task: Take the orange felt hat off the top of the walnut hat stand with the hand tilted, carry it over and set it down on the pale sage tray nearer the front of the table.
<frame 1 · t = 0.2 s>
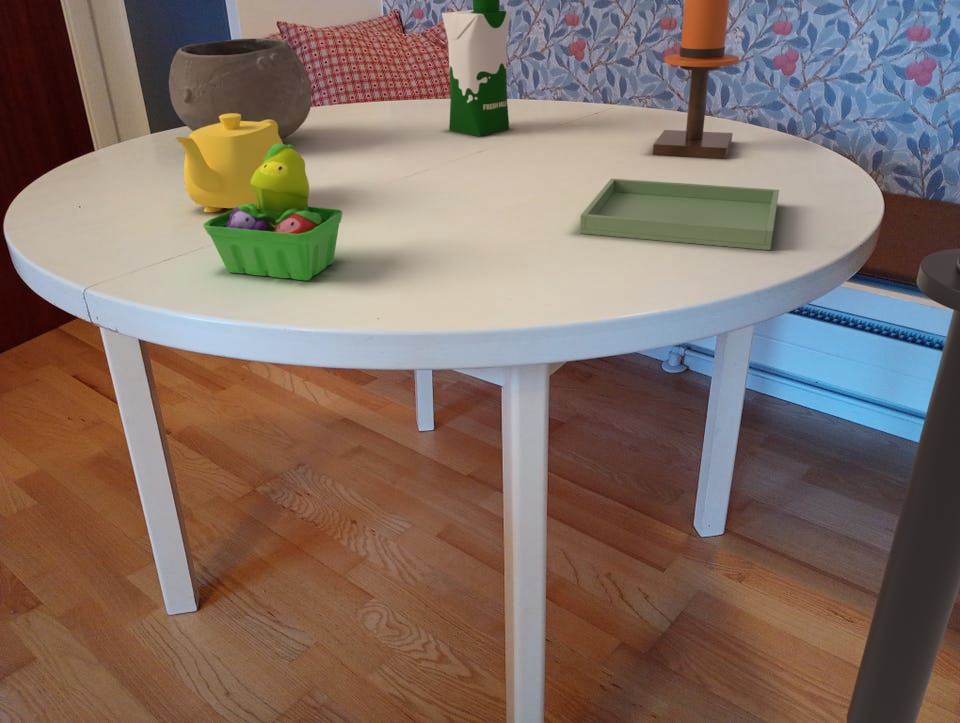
teapot: (241, 208, 99), on the table
hat stand: (692, 148, 119), on the table
milk carton: (479, 131, 135), on the table
hat: (701, 61, 114), point 12 cm above the table, touching hat stand
tray: (681, 219, 90), on the table
fruit basket: (284, 267, 80), on the table
clay pot: (250, 145, 130), on the table
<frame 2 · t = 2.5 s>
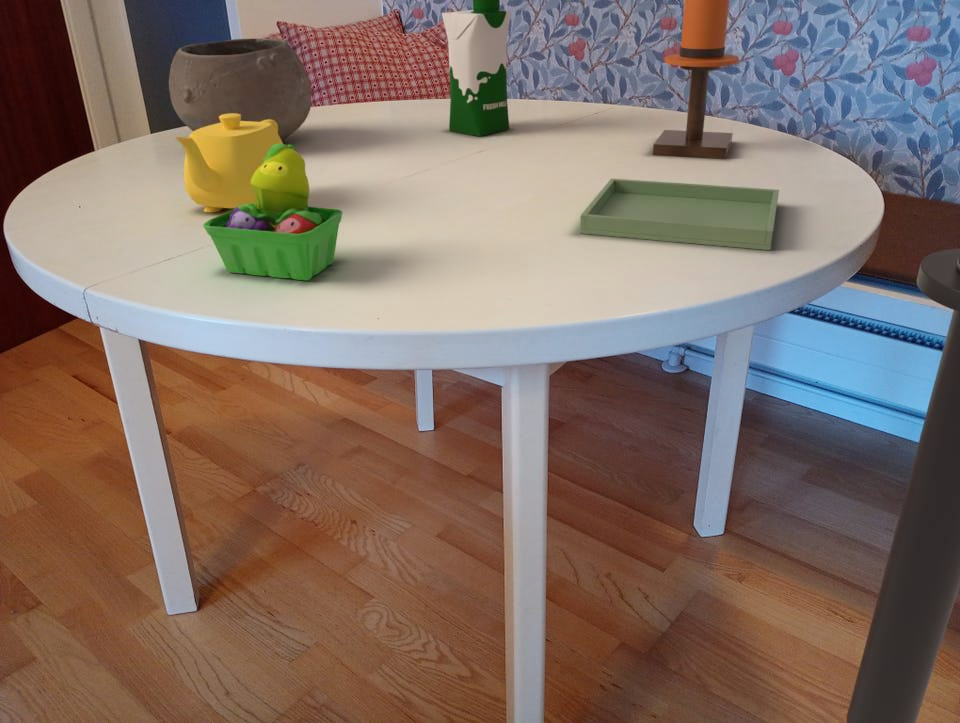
nothing on the table moved.
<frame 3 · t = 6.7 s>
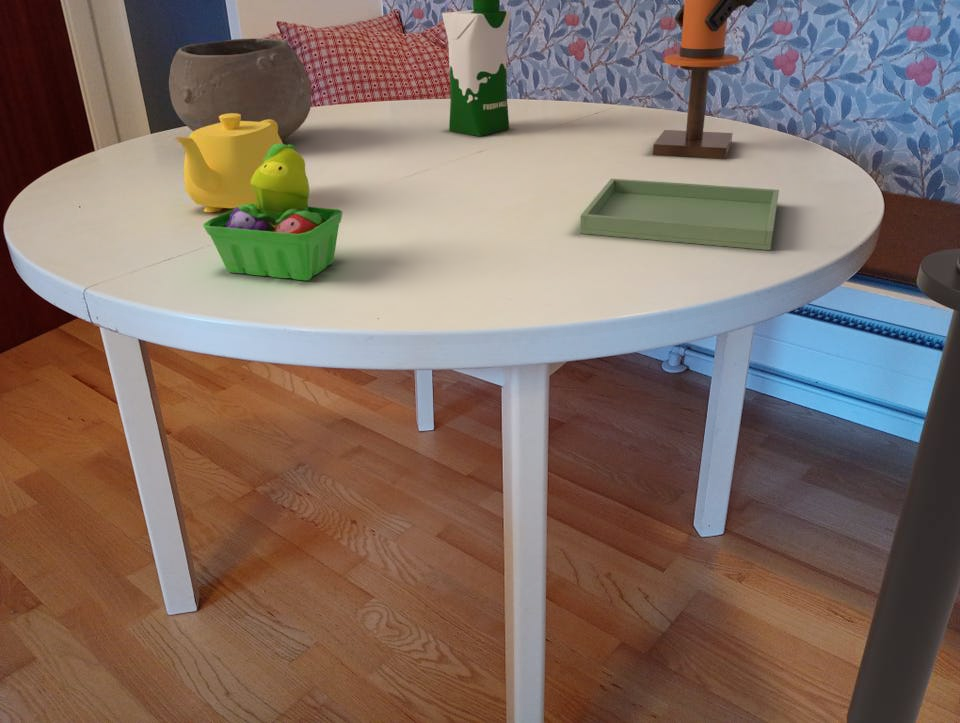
hand: (694, 24, 111), 17 cm above the table, tool tilted 45°, fingers closed on hat, 5 cm apart
hat: (701, 61, 114), point 12 cm above the table, touching gripper, hat stand
everything else where it was.
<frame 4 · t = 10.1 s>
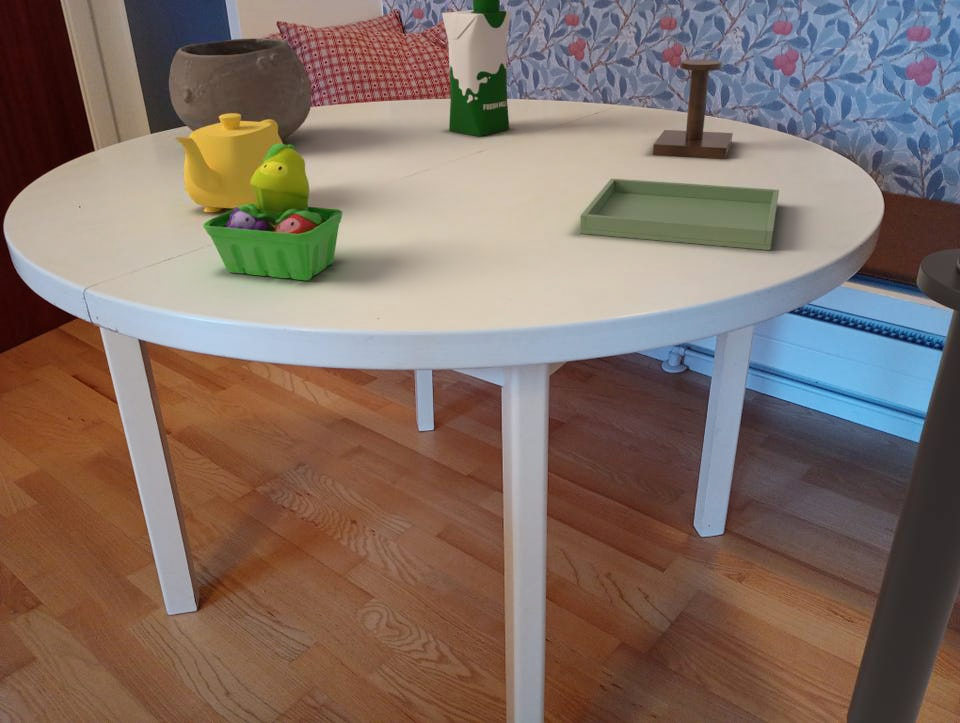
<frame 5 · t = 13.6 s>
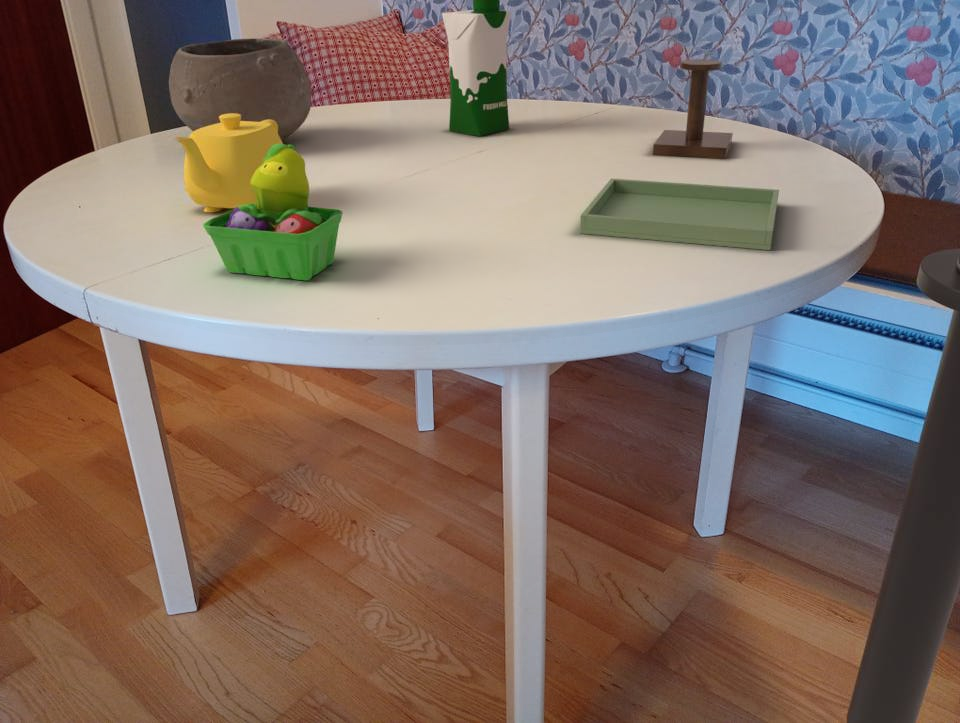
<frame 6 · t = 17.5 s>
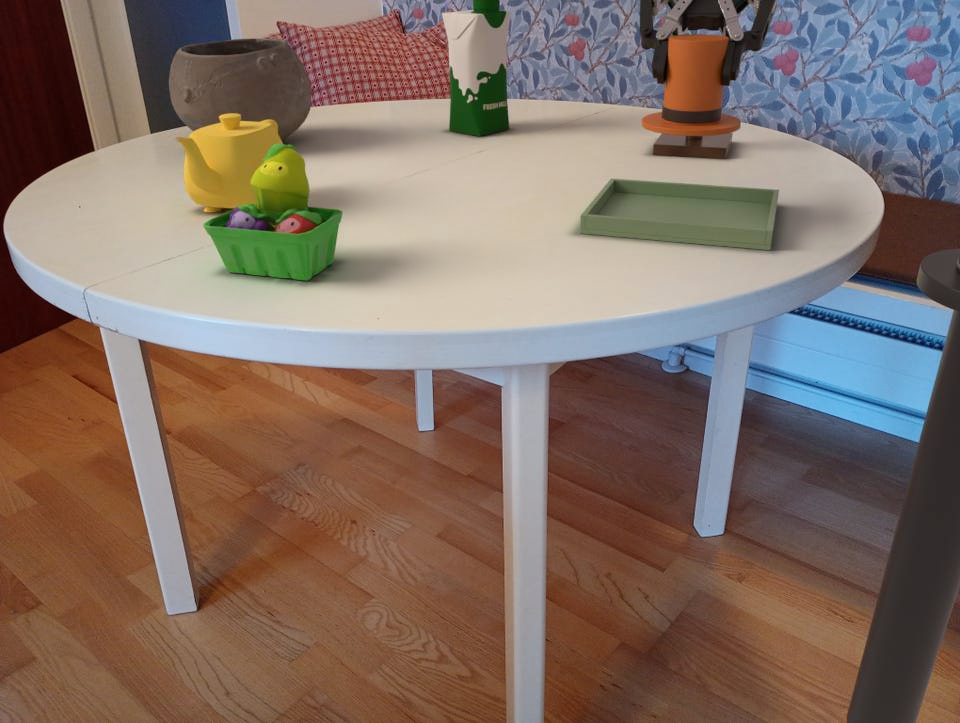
hand: (692, 79, 82), 15 cm above the table, tool tilted 45°, fingers closed on hat, 5 cm apart
hat: (690, 125, 85), point 10 cm above the table, touching gripper
everything else where it was.
when the fingers open (5 cm above the table, at t = 20.6 s): hat stays where it is, resting on tray.
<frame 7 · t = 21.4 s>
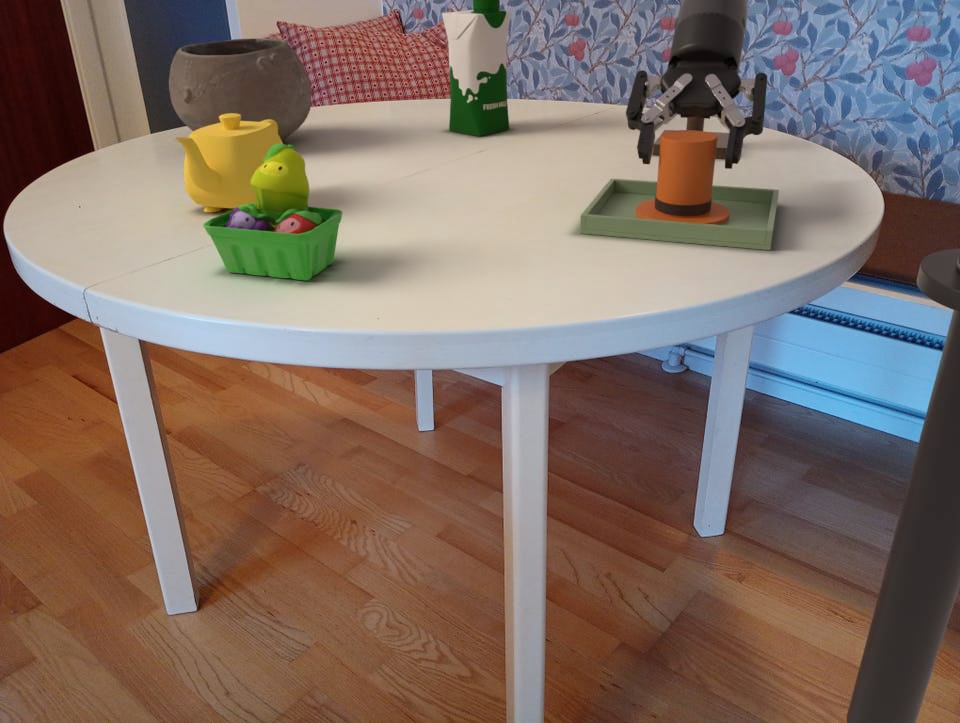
hand: (686, 162, 86), 7 cm above the table, tool tilted 45°, fingers open, 8 cm apart
hat: (681, 215, 90), resting on tray
everything else where it was.
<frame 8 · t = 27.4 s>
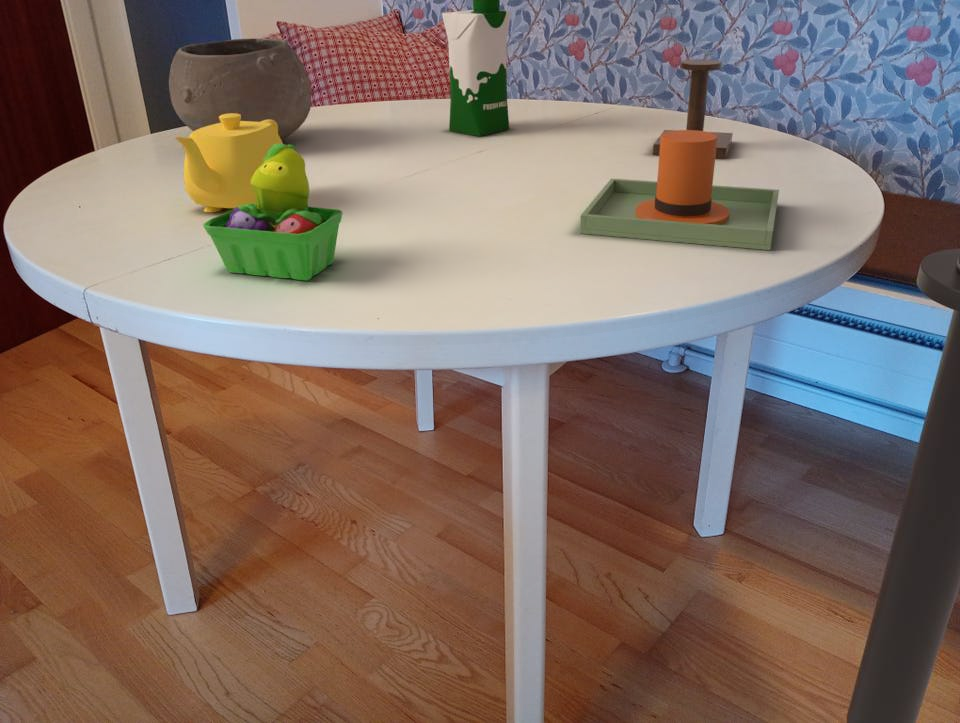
nothing on the table moved.
at the end: hat inside the target area in the tray (0.1 cm from its centre), point 0.5 cm above the tray's base; hat tilted 0°; the gripper is holding nothing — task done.
